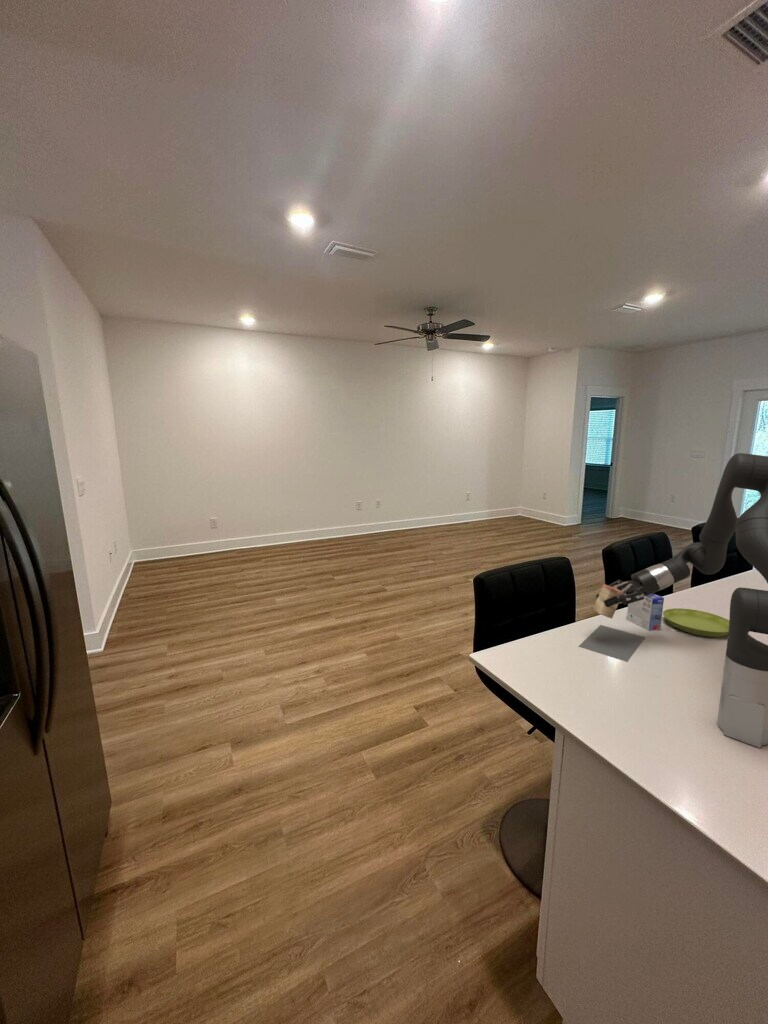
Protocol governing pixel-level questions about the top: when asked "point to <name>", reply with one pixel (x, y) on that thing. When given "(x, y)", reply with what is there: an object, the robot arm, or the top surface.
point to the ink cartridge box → (646, 612)
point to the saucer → (697, 622)
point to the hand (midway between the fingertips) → (601, 601)
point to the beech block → (604, 595)
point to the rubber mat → (612, 642)
